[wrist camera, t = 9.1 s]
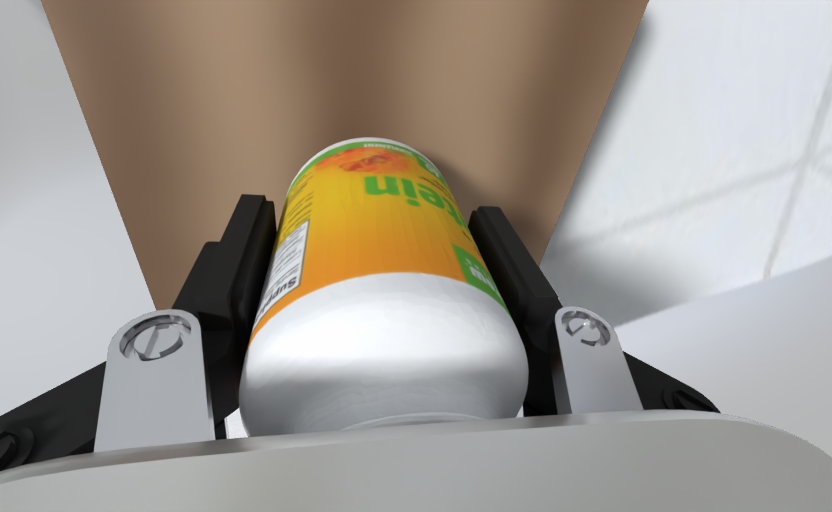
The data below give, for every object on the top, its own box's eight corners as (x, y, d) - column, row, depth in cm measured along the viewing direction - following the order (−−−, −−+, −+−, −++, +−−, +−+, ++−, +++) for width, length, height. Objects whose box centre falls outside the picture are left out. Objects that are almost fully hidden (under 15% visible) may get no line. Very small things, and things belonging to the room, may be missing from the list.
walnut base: (608, -42, 13) (667, -46, 10) (490, 300, 22) (508, 339, 20) (59, -156, 10) (-33, -198, 7) (192, 302, 19) (170, 349, 16)
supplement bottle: (481, 185, 12) (701, 525, 5) (396, 293, 15) (453, 637, 7) (332, 95, 10) (303, 484, 2) (259, 240, 12) (127, 670, 5)
